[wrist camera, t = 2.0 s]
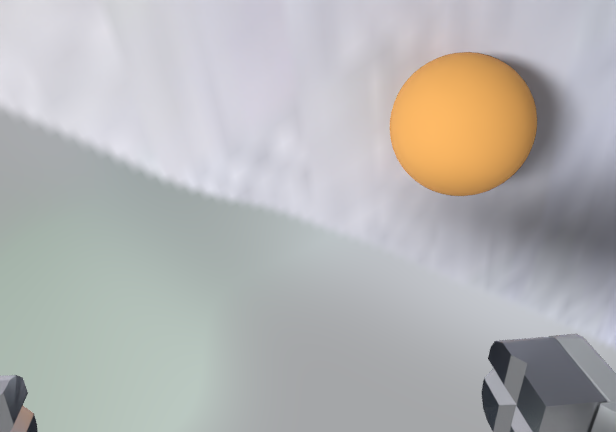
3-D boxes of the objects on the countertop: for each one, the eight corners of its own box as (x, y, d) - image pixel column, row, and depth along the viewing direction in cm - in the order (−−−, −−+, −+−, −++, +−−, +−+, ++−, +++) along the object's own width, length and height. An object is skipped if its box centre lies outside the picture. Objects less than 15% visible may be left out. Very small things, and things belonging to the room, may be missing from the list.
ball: (370, 166, 27) (405, 223, 21) (381, 40, 24) (423, 69, 19) (486, 164, 28) (547, 217, 22) (509, 41, 25) (585, 69, 20)
